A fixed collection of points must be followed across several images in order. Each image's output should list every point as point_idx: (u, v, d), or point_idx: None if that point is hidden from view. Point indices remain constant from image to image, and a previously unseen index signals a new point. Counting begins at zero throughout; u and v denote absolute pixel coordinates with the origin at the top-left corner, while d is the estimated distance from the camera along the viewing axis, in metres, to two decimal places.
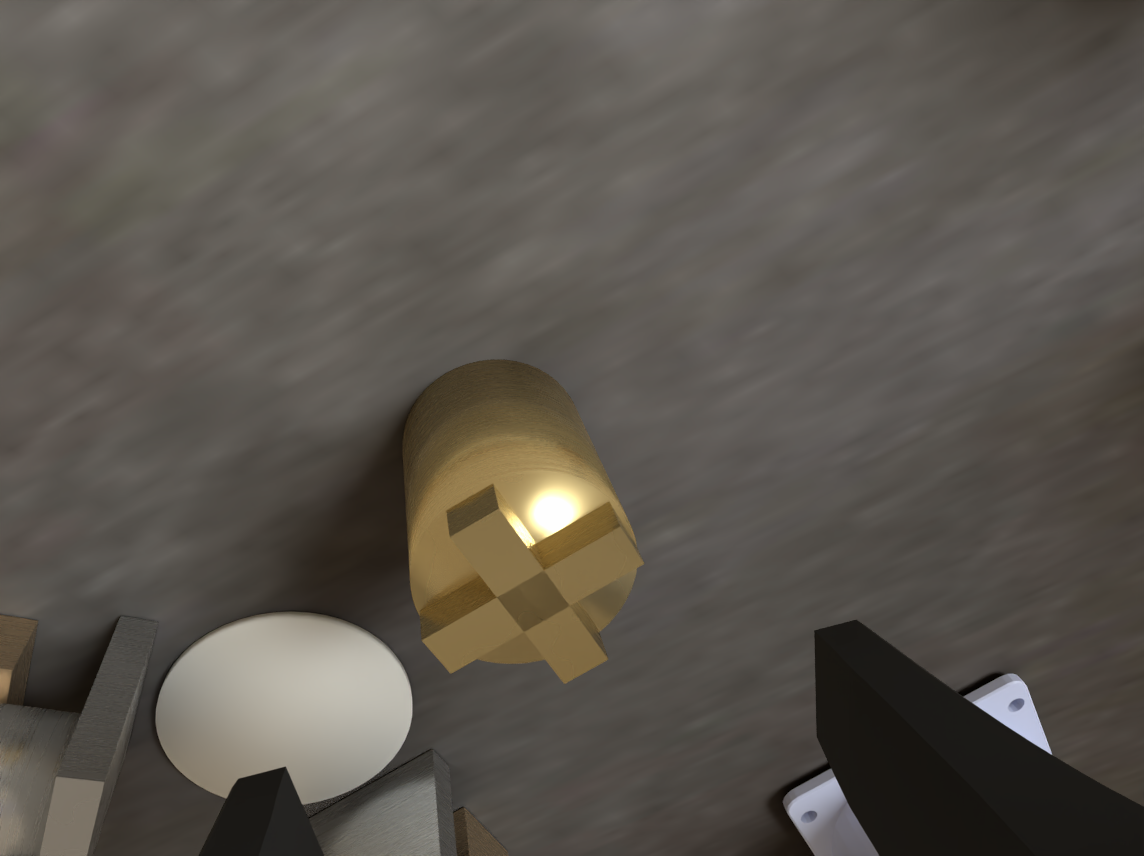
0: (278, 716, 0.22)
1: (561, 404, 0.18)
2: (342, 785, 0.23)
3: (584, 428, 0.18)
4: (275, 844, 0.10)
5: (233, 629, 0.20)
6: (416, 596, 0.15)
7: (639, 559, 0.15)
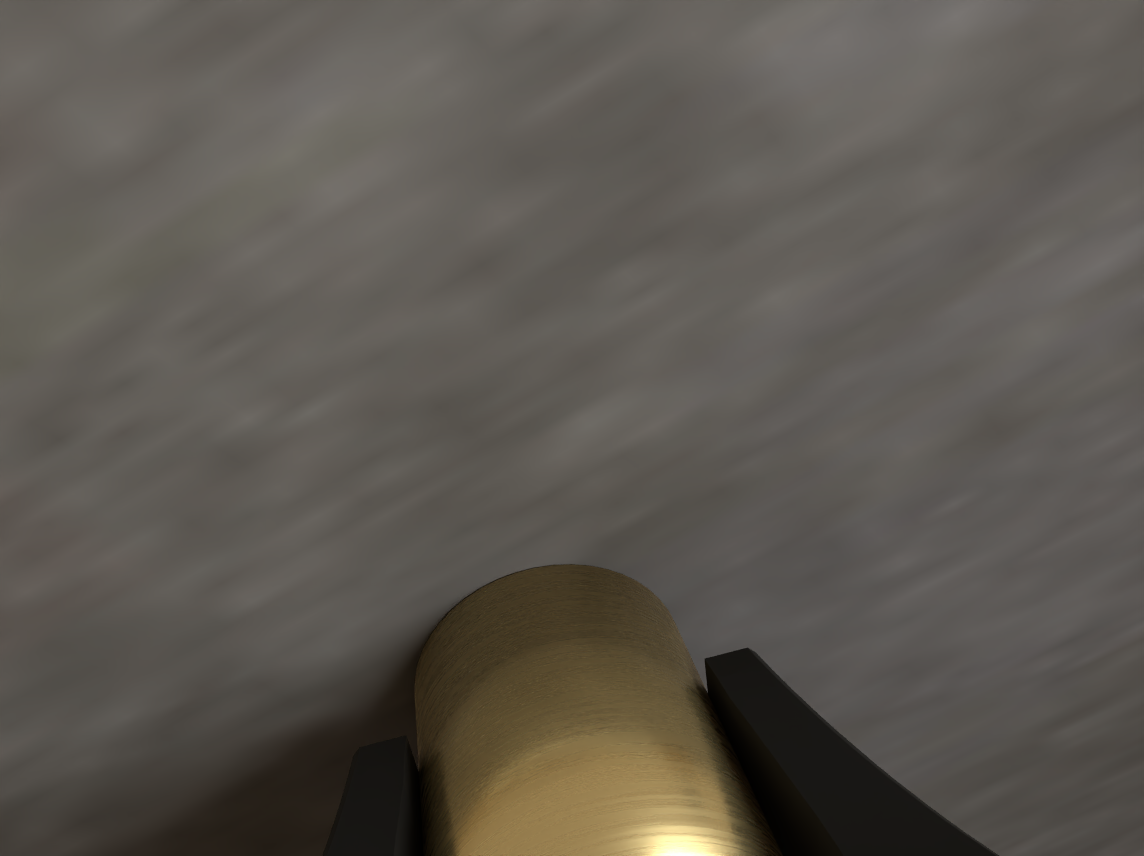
0: None
1: (668, 653, 0.11)
2: None
3: (702, 686, 0.12)
4: (407, 809, 0.10)
5: None
6: None
7: None
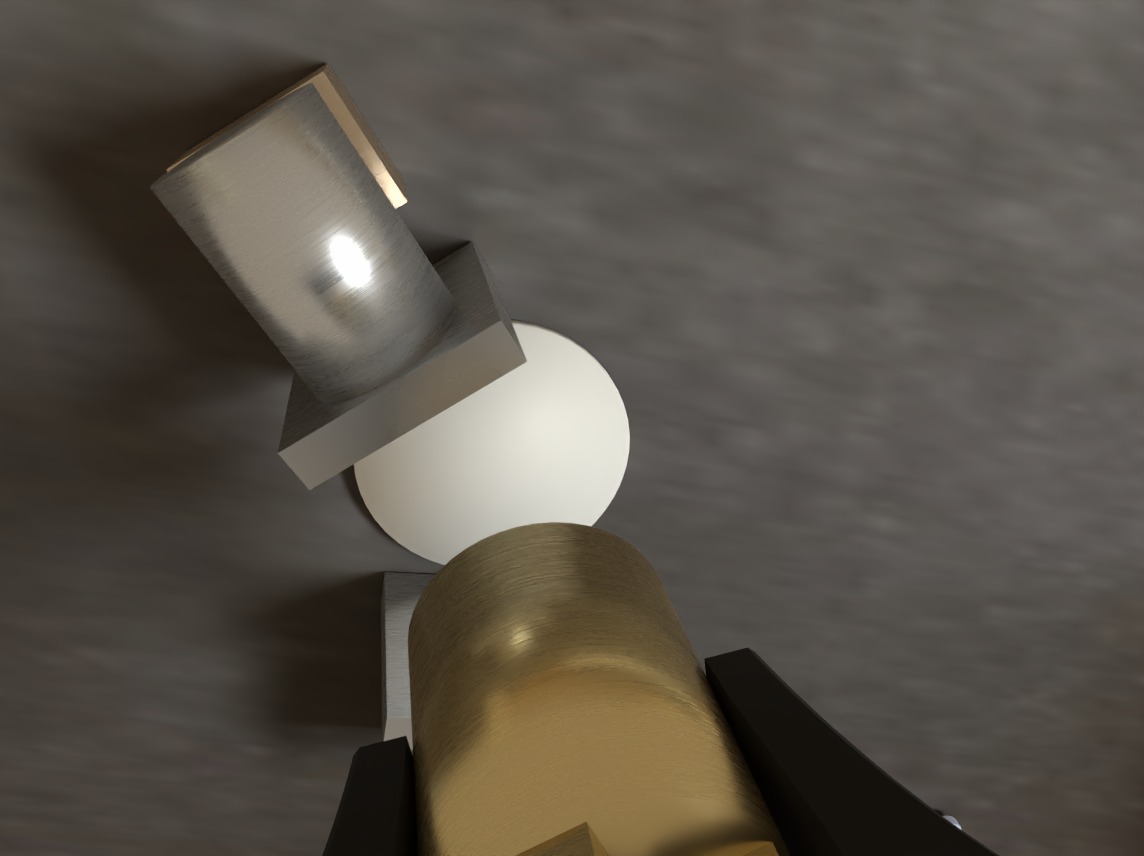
0: (490, 447, 0.19)
1: (661, 609, 0.12)
2: None
3: (690, 645, 0.12)
4: (407, 809, 0.10)
5: (548, 333, 0.18)
6: None
7: None
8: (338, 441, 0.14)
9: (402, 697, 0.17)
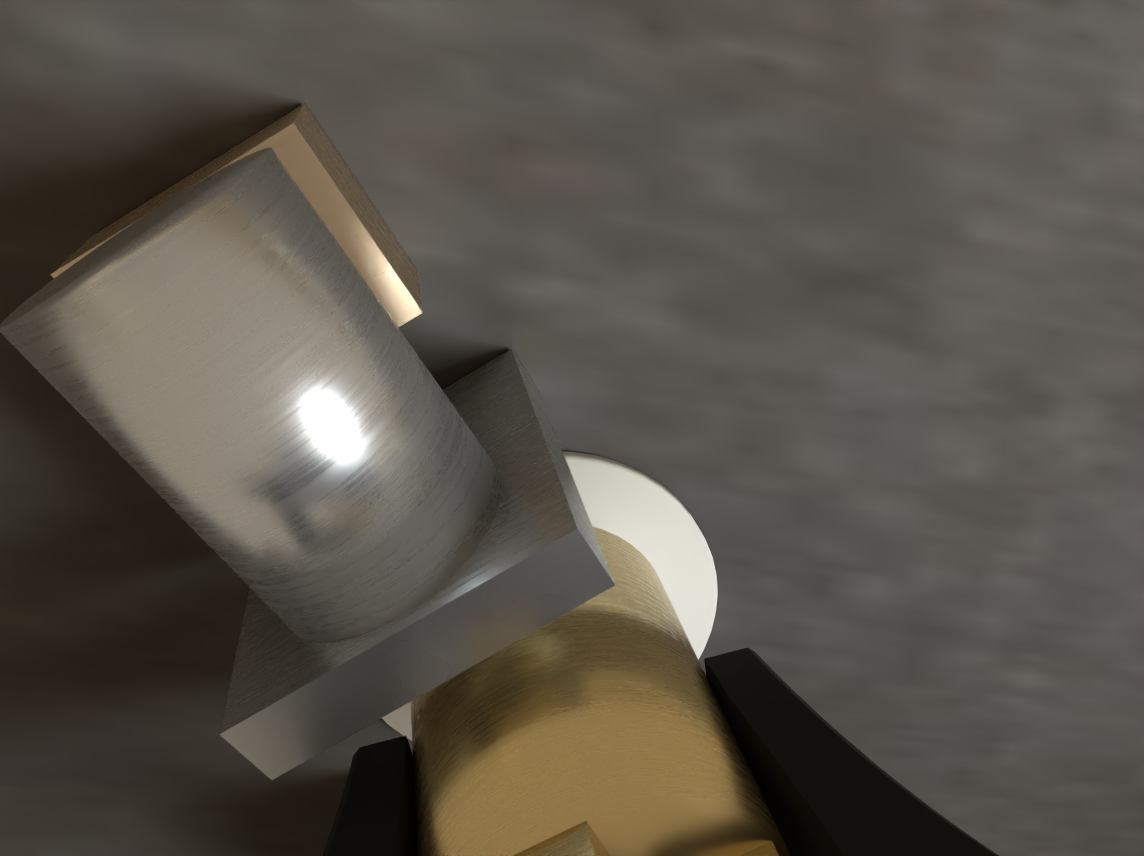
0: None
1: (660, 609, 0.12)
2: None
3: (690, 644, 0.12)
4: (407, 809, 0.10)
5: (615, 469, 0.13)
6: None
7: None
8: (317, 711, 0.09)
9: None
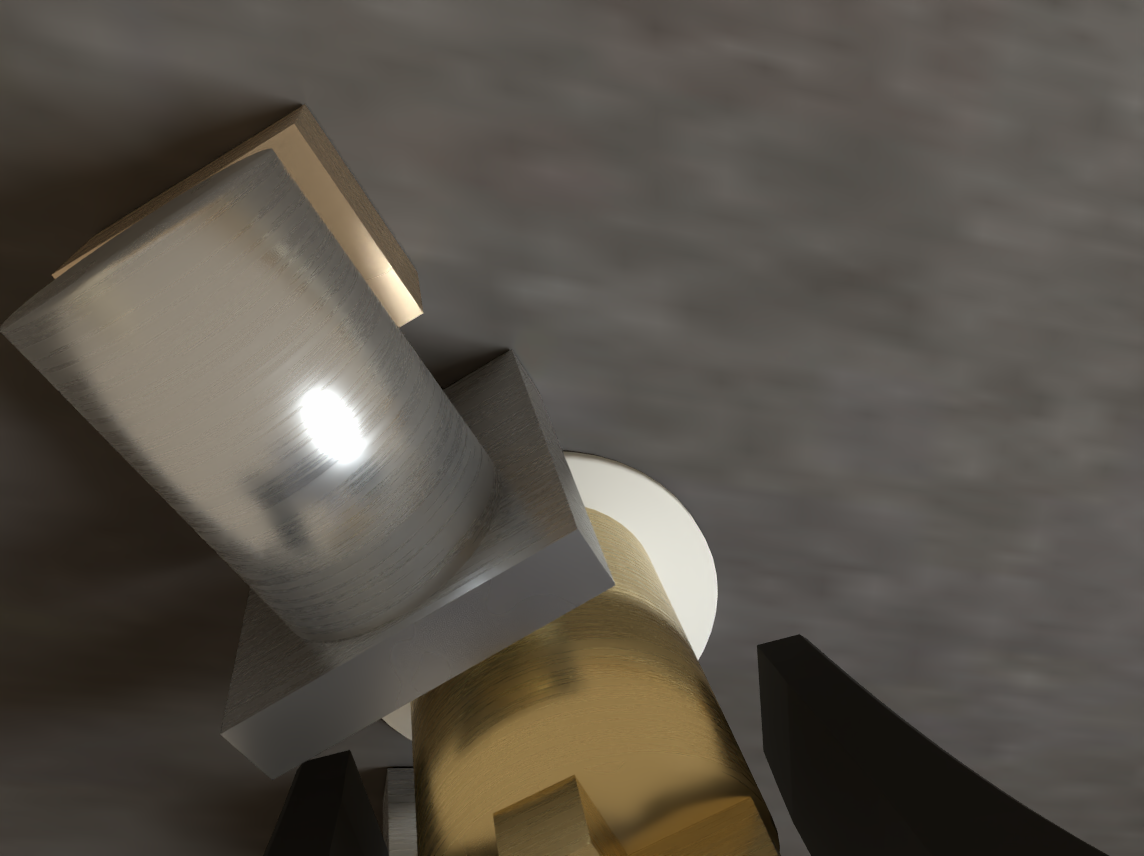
0: None
1: (649, 584, 0.12)
2: None
3: None
4: (346, 825, 0.10)
5: (615, 470, 0.13)
6: None
7: None
8: (318, 712, 0.09)
9: None
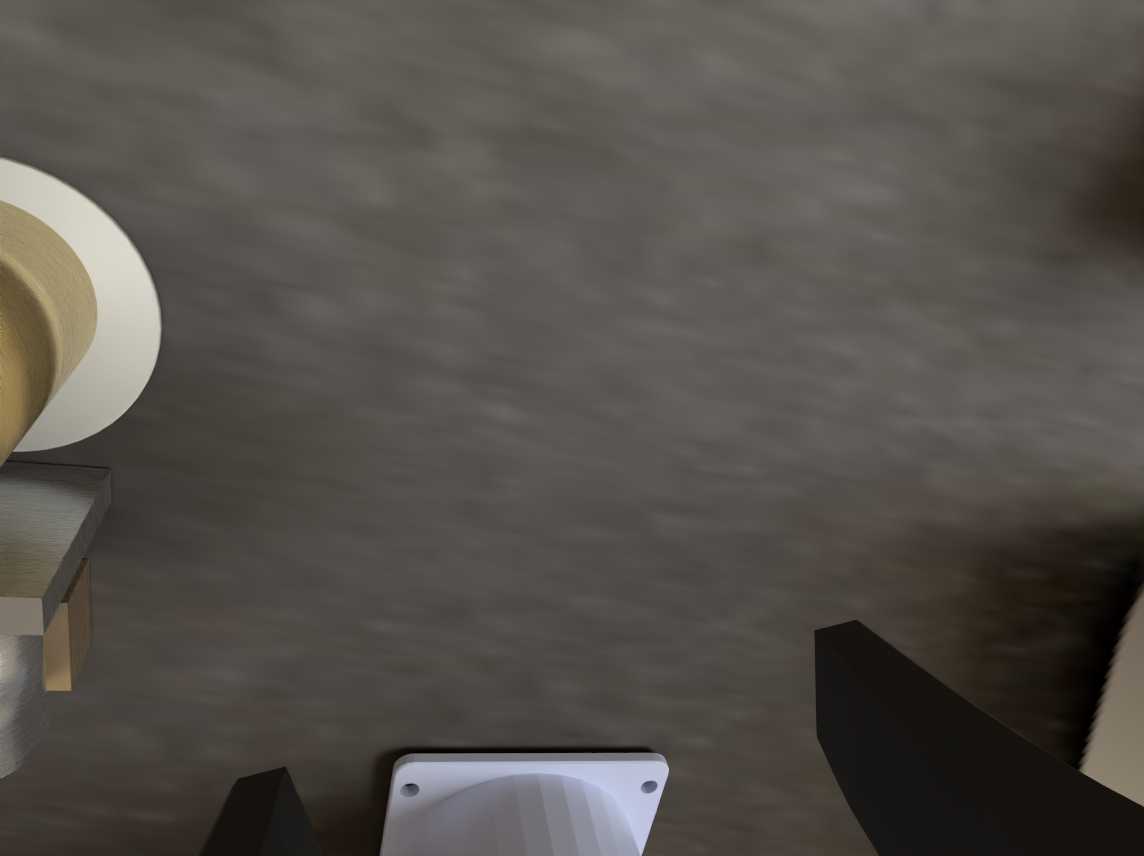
0: None
1: (12, 241, 0.15)
2: None
3: (44, 274, 0.15)
4: (275, 844, 0.10)
5: (20, 167, 0.16)
6: None
7: None
8: None
9: None
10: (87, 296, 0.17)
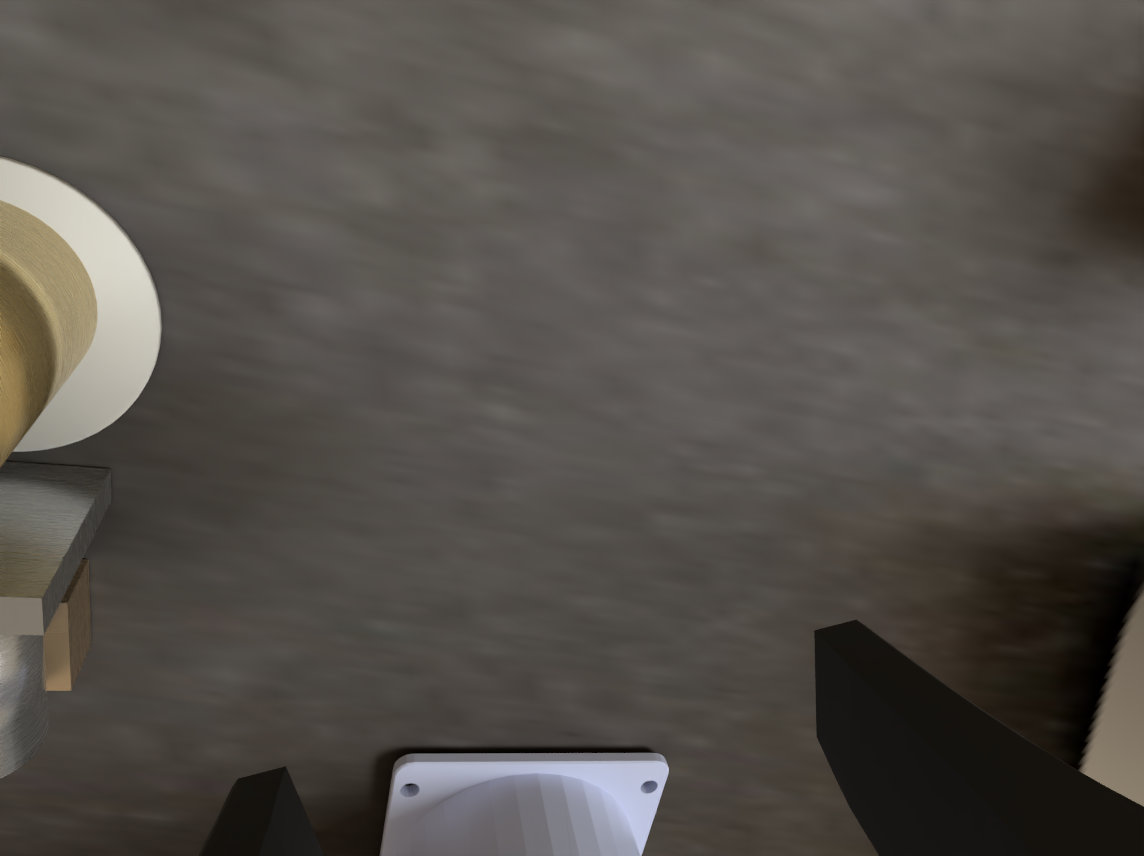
0: None
1: (11, 241, 0.15)
2: None
3: (44, 274, 0.15)
4: (275, 844, 0.10)
5: (20, 167, 0.16)
6: None
7: None
8: None
9: None
10: (87, 296, 0.17)
